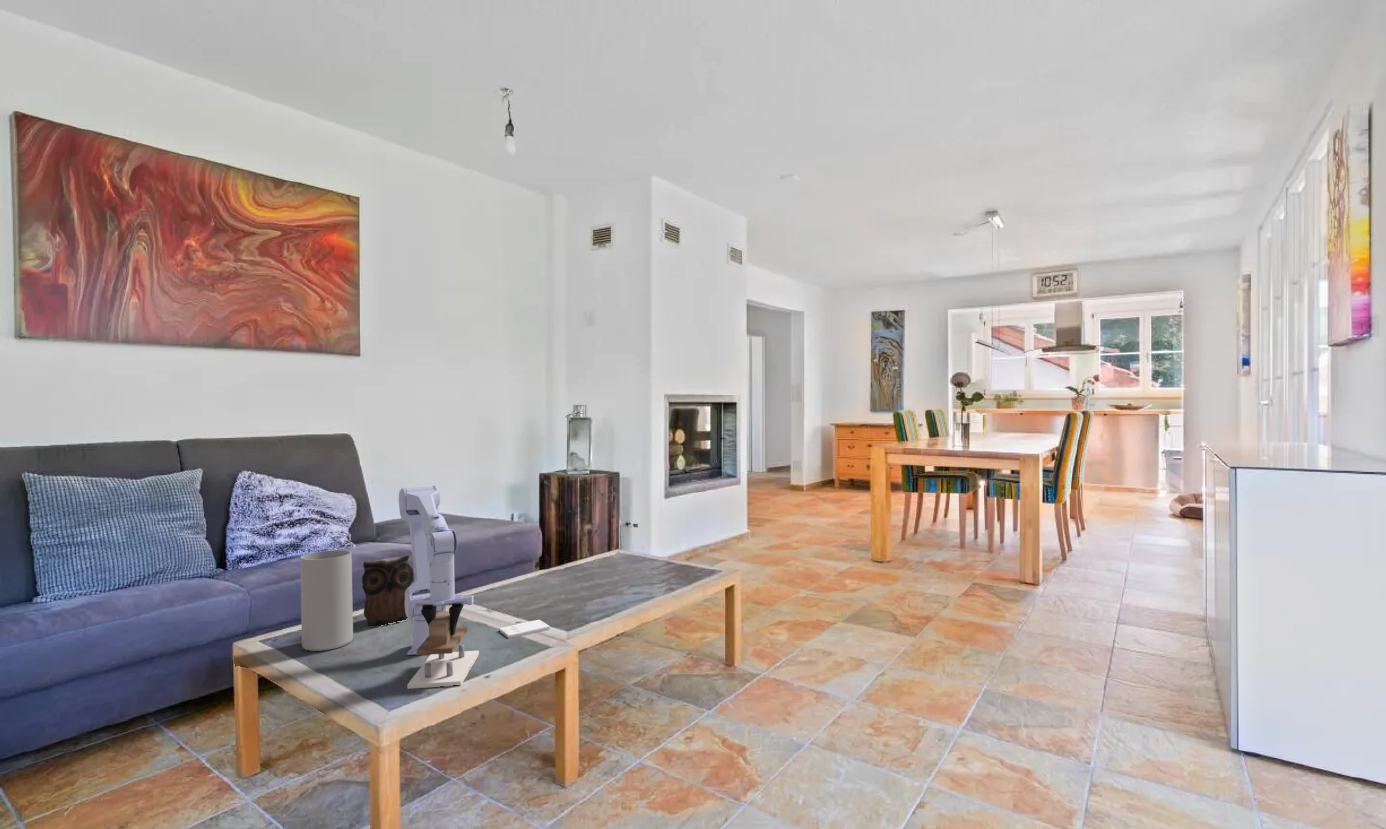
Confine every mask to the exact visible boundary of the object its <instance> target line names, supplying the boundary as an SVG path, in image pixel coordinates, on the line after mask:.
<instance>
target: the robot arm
mask: <svg viewBox="0 0 1386 829" xmlns="http://www.w3.org/2000/svg"><path fill="white" fill-rule="evenodd" d="M440 501H441V495H440V489H439V487H437V486H436V485H432V486H422V487H420V486H419V487H407V488H406V487H401V489H400V490H399V491H398V506H399V515H400V519H401V520H402V521H404V522H406V523H407V525H408V528H409V529H408V530H409V535H410V536H409V537H410V546H411V556H412V566H413V568H412V569H413V573H414V580H413V581H414V582H413V581H412V583H411V585H410V586H409V587H408V588H407V589H406V592H405V613H406V616H407V617H408V618H411V619H410V620H411V648H409V650H408V651H407V652H406V655H407V656H411V655H415V656H416V655H417V649H418V648H419V647H420V646H421V645H422V643H423V642H424V641H425V640H426V639H427V638H428V636H429V624H430V623H431V621H432V620H433V619H434V618H435V617H436V616H437V615H438V614H439V613H440V612H446V609H447V606H450V607H449V608H448V612H449V614H450V635H454V634H455V631H456V625H458V620H459V617H460V614H461V611H462V609H463V607H464V606H465V605H467V606H473V604H475V603H474V602H475V601H474V599H475V598H474V597H475V596H474V595H473V594H471V595H470V594H469V595H468V594H456V591H455V590H456V586H455V585H456V584H455V577H456V576H455V553H457V551H458V537H457V533H456V531H455V529H452V528H449V526H448V524H447V521H446V519H445V517H444V516H443V515H442V514H441V513H438V509H439V505H440ZM413 593H414V594H413Z"/></svg>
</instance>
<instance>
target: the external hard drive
mask: <svg viewBox="0 0 1386 829" xmlns="http://www.w3.org/2000/svg"><path fill="white" fill-rule="evenodd" d="M550 627H551V626H550V625H549V624H547V623H545V622H544V621H542V620H541V619H536V620H530V621H527V622H523V623H521V622H520V623H517V624H513V625H509V626H508V625H507V626H504V627H499V628H498V632H499V631H500V632H499V633H501V634H502V635H504V636H505V637H506V638H507V639H513V638H517V637H522V636H527V635H530V634H534V633H535V634H536V633H540V632H544V631H548V629H549V630H550Z"/></svg>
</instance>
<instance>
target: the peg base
mask: <svg viewBox="0 0 1386 829" xmlns="http://www.w3.org/2000/svg"><path fill="white" fill-rule="evenodd" d="M479 655H480V650H465V644H462V643H461V644H458V651H453V652H452V653H449V654H431V655H429V656H428V657H427V659H426V660H425V661H424V663H423V664H422V665H421V666H420V668H418V670H417V671H416V673H415V674H414V676H412V678H411V679H410V680H409V682H408V683H407V690H410V689H422V688H423V689H424V688H425V689H426V688H441V687H440V686H444V687H454V686H453V685H460V686H462V685H463V683H464V681H465V680H466V677H467V676H468V674H469V672H470V671H469V670H471V668H472V667H473V665H474V664H475V662H476V660H477V658H478V657H479ZM461 684H462V685H461Z"/></svg>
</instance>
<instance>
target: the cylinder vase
mask: <svg viewBox="0 0 1386 829" xmlns="http://www.w3.org/2000/svg"><path fill="white" fill-rule="evenodd" d="M352 554H353V553H352V551H351V550H346V549H334V550H330V549H329V550H323V551H315V552H310V553H306V554H304V555H301V556H300V567H299V568H300V599H301V600H300V607H301V608H300V611H301V612H300V613H301V620H300V622H301V647H302V648H303V649H304V650H306V651H308V650H309V652H310V651H311V652H324V651H330V650H334V649H338V648H341V647H344V646H346V645H349V643H351V642H352V640H353V639H354V615H353V614H354V612H353V610H354V609H353V607H354V606H353V604H354V603H353V561H352V559H353V557H352Z"/></svg>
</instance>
